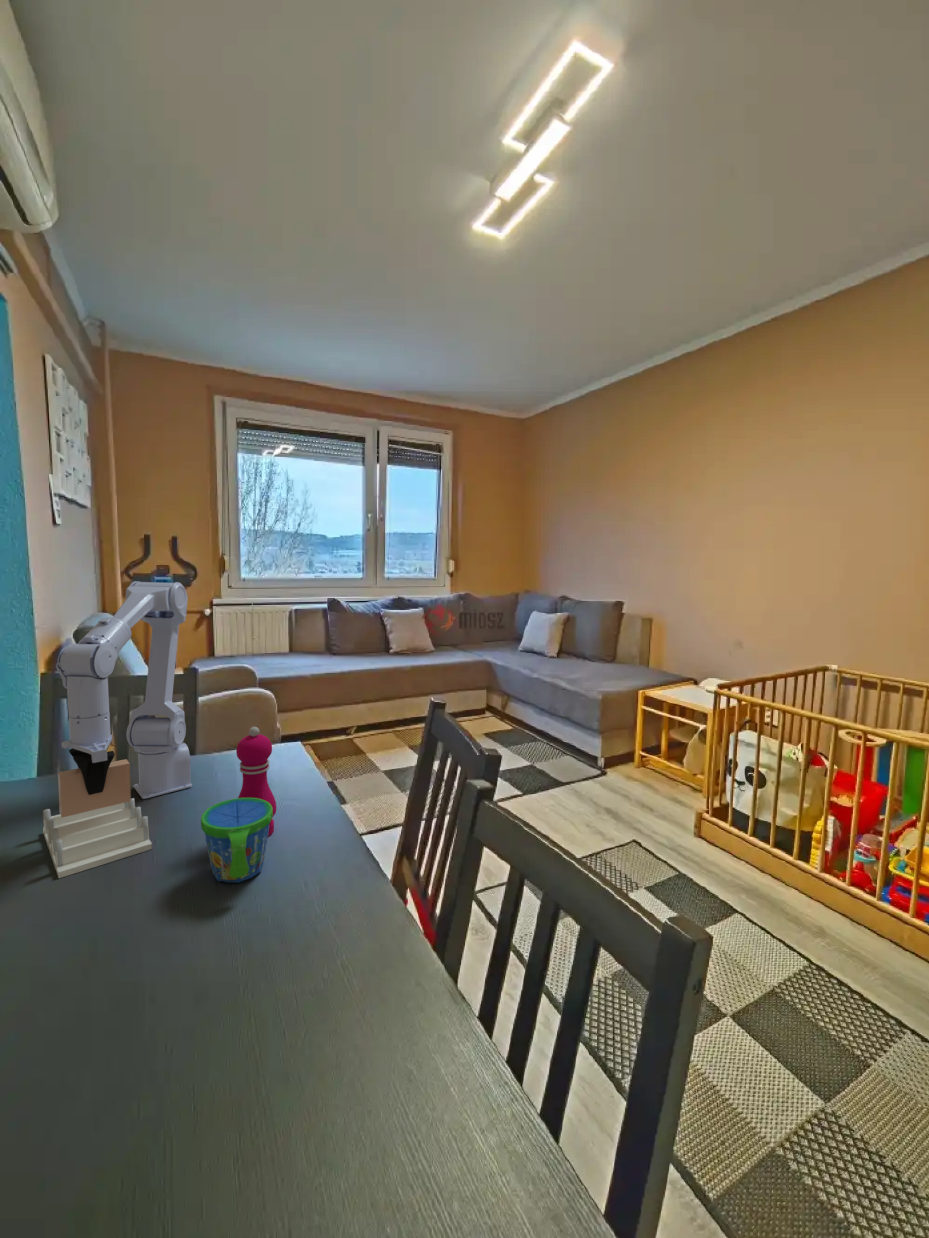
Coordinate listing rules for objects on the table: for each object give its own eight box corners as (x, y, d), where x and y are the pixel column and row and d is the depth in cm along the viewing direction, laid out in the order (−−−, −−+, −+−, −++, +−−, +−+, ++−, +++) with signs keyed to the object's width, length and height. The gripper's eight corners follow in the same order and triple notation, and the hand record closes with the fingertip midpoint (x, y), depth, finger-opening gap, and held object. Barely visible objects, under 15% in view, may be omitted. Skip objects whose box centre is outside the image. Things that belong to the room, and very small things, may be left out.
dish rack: (126, 810, 106) (125, 786, 106) (152, 848, 94) (151, 821, 93) (43, 833, 98) (41, 806, 97) (58, 878, 85) (56, 848, 84)
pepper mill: (283, 824, 103) (282, 722, 101) (265, 844, 96) (264, 735, 93) (246, 821, 104) (244, 719, 101) (226, 841, 97) (223, 732, 94)
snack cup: (271, 895, 82) (270, 831, 81) (194, 907, 79) (192, 841, 78) (275, 842, 97) (274, 787, 96) (210, 850, 94) (208, 793, 92)
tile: (127, 796, 99) (126, 759, 98) (130, 800, 97) (129, 763, 97) (59, 812, 92) (57, 772, 92) (61, 817, 91) (60, 777, 90)
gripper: (53, 707, 95) (58, 782, 97) (67, 729, 85) (72, 811, 86) (101, 701, 100) (105, 772, 102) (120, 720, 90) (124, 799, 91)
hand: (93, 789), depth 94 cm, fingers closed on tile, 2 cm apart
